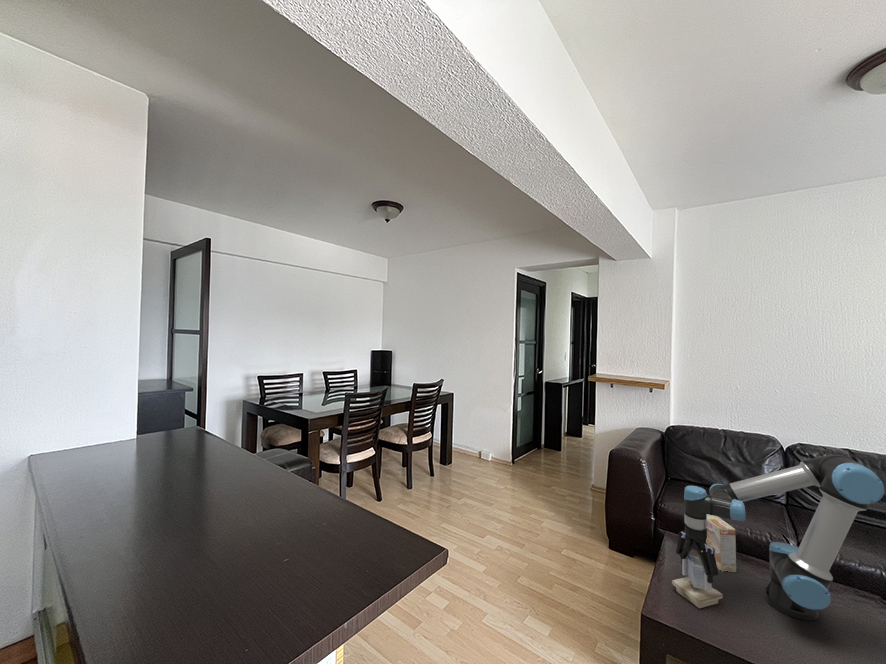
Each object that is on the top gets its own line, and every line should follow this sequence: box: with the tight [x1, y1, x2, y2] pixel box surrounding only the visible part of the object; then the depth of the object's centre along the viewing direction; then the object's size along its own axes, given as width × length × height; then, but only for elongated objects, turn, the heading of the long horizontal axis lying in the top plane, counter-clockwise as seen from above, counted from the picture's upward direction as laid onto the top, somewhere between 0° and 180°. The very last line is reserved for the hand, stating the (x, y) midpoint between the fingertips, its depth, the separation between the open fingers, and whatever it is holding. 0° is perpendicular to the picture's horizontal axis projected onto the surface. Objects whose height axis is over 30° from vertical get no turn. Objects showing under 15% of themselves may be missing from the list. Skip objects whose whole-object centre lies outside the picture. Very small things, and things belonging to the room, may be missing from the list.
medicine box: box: [686, 554, 706, 589], centre depth 145 cm, size 8×4×9 cm, turn 161°
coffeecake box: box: [701, 514, 737, 573], centre depth 168 cm, size 15×7×20 cm, turn 174°
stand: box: [671, 576, 723, 609], centre depth 145 cm, size 12×12×4 cm
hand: (696, 581), depth 145 cm, fingers closed on medicine box, 9 cm apart
